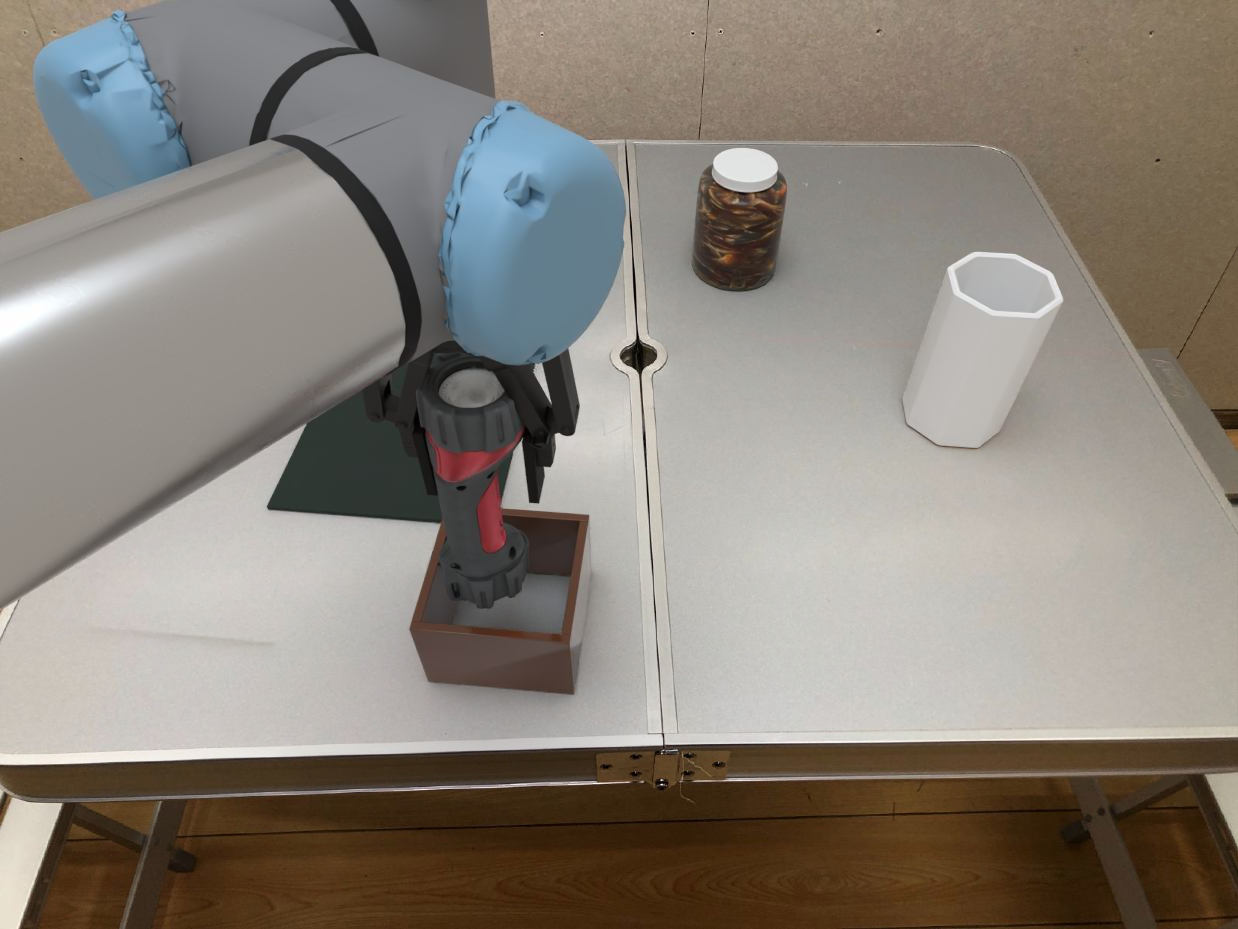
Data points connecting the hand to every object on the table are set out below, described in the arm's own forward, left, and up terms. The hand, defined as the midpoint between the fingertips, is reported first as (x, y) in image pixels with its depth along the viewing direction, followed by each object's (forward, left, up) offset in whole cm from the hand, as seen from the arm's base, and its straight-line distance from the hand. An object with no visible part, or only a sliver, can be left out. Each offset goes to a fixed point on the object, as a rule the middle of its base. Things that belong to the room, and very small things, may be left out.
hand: (486, 485), depth 63 cm
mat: (-16, +31, -20) cm, 40 cm away
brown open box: (0, 0, -20) cm, 20 cm away
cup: (+45, +32, -20) cm, 59 cm away
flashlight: (0, 0, -12) cm, 12 cm away
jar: (+20, +59, -20) cm, 66 cm away
